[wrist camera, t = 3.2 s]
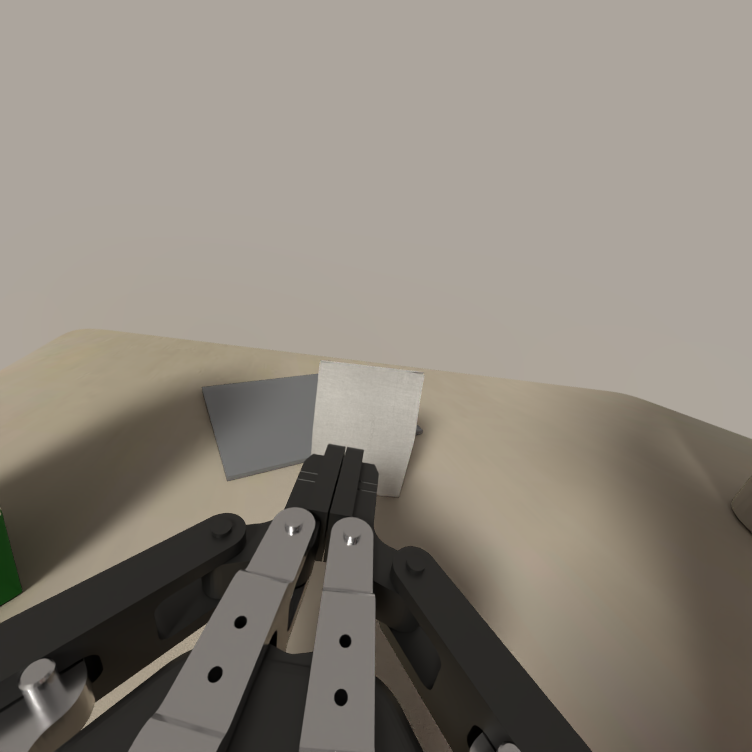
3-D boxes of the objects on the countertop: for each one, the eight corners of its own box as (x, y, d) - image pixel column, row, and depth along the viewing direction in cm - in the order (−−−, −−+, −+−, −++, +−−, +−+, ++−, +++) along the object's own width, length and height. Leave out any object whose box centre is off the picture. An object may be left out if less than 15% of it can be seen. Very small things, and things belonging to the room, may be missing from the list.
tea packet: (398, 497, 27) (428, 390, 21) (309, 489, 26) (315, 377, 21) (395, 460, 30) (420, 359, 24) (315, 453, 29) (323, 347, 24)
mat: (357, 372, 45) (357, 369, 45) (422, 433, 35) (422, 430, 35) (202, 390, 36) (201, 387, 36) (227, 481, 26) (226, 476, 26)
